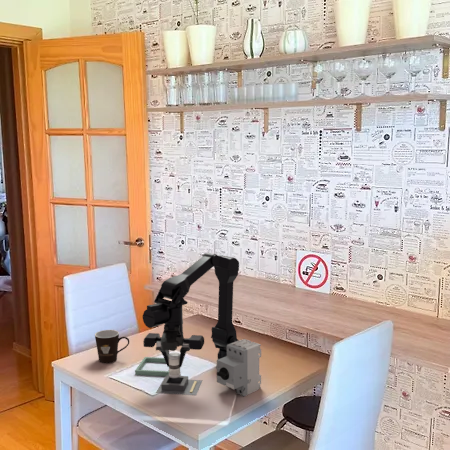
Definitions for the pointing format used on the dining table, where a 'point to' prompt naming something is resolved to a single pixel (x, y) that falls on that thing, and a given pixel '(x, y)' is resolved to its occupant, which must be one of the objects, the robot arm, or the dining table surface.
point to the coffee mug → (108, 345)
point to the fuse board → (179, 386)
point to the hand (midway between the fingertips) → (174, 366)
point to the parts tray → (151, 372)
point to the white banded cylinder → (174, 365)
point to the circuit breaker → (240, 367)
